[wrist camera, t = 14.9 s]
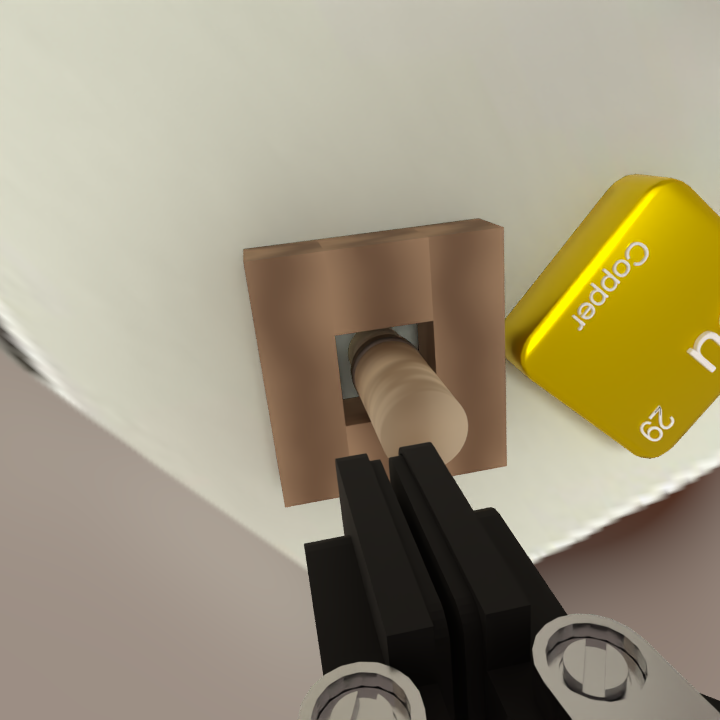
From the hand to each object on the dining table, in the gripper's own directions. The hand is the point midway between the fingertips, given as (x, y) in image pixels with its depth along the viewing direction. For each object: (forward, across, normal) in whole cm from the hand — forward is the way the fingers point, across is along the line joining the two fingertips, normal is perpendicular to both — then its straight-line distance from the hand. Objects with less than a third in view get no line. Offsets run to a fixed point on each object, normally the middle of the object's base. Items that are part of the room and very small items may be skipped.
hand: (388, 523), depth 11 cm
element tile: (+30, -23, +8) cm, 39 cm away
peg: (+29, -5, +8) cm, 31 cm away
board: (+29, -5, +8) cm, 31 cm away
